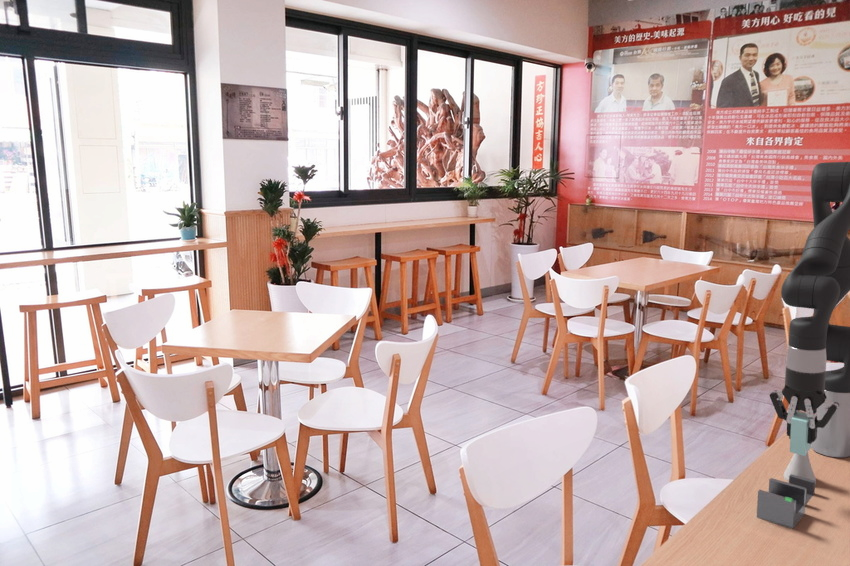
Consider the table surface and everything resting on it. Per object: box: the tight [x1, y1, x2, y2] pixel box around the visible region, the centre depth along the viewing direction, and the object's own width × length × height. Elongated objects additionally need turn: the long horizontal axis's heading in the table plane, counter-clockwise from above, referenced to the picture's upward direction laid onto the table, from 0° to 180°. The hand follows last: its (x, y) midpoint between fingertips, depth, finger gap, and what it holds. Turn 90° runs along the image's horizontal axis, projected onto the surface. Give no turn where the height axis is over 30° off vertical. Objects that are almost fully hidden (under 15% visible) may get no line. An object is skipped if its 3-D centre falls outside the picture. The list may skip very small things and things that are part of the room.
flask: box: [783, 451, 817, 486], centre depth 154 cm, size 7×7×10 cm
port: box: [756, 477, 806, 530], centre depth 139 cm, size 8×7×7 cm
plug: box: [789, 411, 812, 456], centre depth 145 cm, size 4×3×8 cm
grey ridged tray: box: [788, 474, 816, 506], centre depth 147 cm, size 8×5×4 cm, turn 135°
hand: (801, 439), depth 145 cm, fingers closed on plug, 3 cm apart
